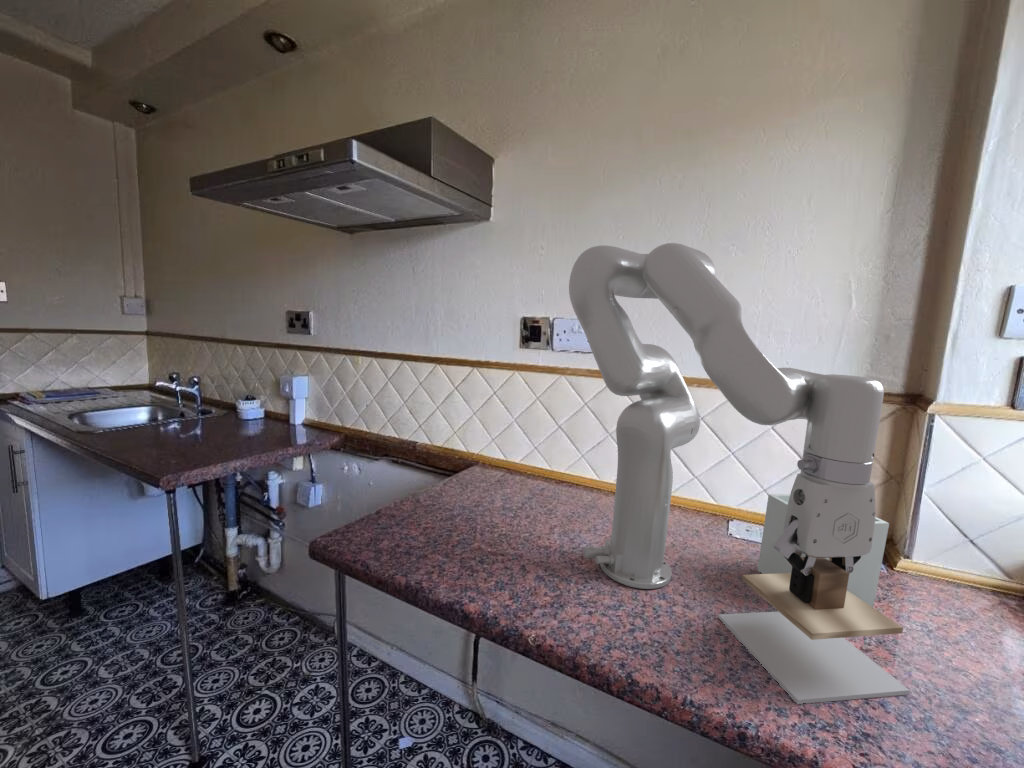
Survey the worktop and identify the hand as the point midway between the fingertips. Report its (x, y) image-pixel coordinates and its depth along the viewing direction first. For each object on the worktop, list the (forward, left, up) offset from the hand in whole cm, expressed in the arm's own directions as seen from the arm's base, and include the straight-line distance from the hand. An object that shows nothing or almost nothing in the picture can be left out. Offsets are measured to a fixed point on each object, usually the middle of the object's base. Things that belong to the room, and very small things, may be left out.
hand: (816, 594), depth 63 cm
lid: (0, 0, -2) cm, 2 cm away
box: (+14, +15, -9) cm, 23 cm away
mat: (0, 0, -9) cm, 9 cm away
